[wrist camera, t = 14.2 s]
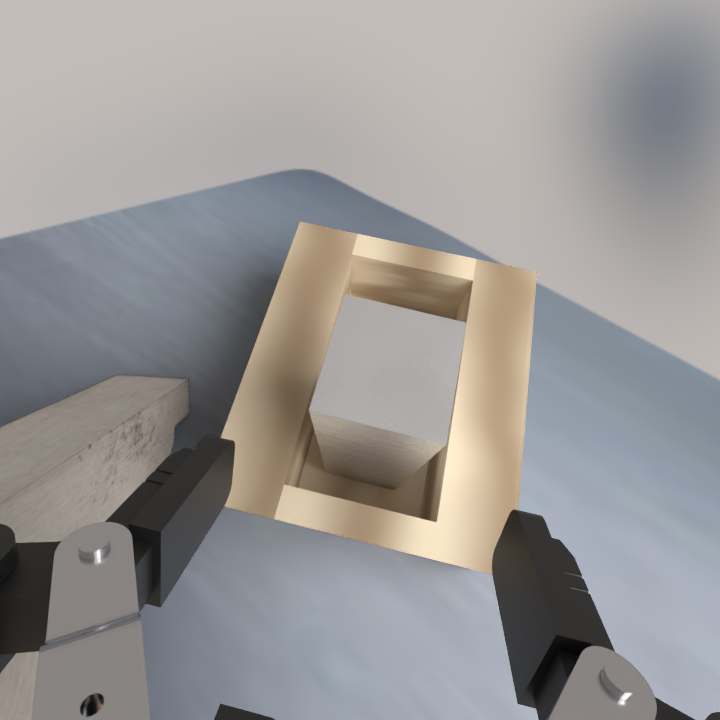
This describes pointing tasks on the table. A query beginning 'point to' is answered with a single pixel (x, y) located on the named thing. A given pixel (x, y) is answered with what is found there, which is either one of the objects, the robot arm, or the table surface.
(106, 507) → the grey letter a
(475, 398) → the beech well block
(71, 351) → the table surface
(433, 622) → the table surface
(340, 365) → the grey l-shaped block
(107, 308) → the table surface
